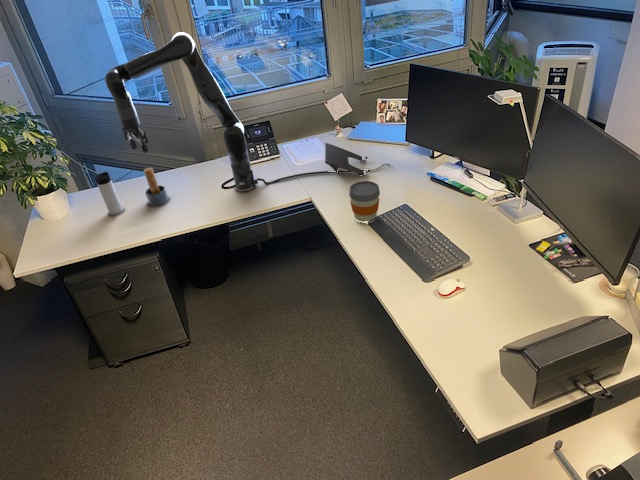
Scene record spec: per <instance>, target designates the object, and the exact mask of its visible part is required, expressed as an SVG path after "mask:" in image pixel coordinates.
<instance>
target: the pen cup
mask: <svg viewBox="0 0 640 480" xmlns="http://www.w3.org/2000/svg"><path fill="white" fill-rule="evenodd" d="M158 187H159V190H160V193H157V194H152V193H151V190H150V187H148V188H146V190H145V193H144V194H145V196H146V198H147V202H148V204H149V205H150V206H152V207H159V206H161V205H164V204H166V203H167V202H168V201H169V195H168V192H167V190H166V187H165V186H164V185H158Z"/></svg>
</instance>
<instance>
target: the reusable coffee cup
mask: <svg viewBox="0 0 640 480" xmlns="http://www.w3.org/2000/svg"><path fill="white" fill-rule="evenodd" d="M348 195H349V198H350V201H349V203H350V206H351V207H350V208H351V211H352V212H353V215H354V216H353V217H354V219H355V218H356V219H357V220H359V221H363V222H364V221H369V220H371V219H373V218H374V217H376V218H377V214H378V213H377V212H378V211H379V205H380V198H379V197H380V195H381V193H380V185H379V184H378V183H376V182H374V181H371V180H361V181H357V182H354V183H351V185H350V187H349V193H348ZM364 224H365V225H364ZM359 225H362V226H363V225H364V226H367V225H366V223H362V222H360V224H359Z"/></svg>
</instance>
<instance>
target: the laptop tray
mask: <svg viewBox="0 0 640 480" xmlns="http://www.w3.org/2000/svg"><path fill="white" fill-rule="evenodd" d="M362 157H363V156H362V155H359V154H357V153H355V152H352V151H350V150H347V149H344V148H342V147H339V146H336V145H334V144H331V143H330V142H329V143H328V142H324V163H325V164H326V165H328V166H329V167H330V168H331V169H332V170H333V171H336V173H335V174H337V170H338V171H339V169H341V170H348V171H351V172H350V173H354V174H358V176H359V175H363V176H365V175H364V172H363V170H361V169H362V168H358V167H357V166H354V165H353V164H350V163H349V158H352V159H354V160H358V161H360V162H367V160H368V156H365V158H364V161H362ZM365 159H367V160H365ZM338 168H339V169H338ZM367 172H369V173H370V172H371V170H368V171H367ZM339 174H340V173H338V174H337V175H339Z"/></svg>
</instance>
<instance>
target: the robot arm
mask: <svg viewBox="0 0 640 480" xmlns="http://www.w3.org/2000/svg"><path fill="white" fill-rule="evenodd" d="M181 60H182V62H183V63H184V65H185V66H186V67H187V69H188V72H189V74H190V76H191V79H192V82H193V84H194V86H195V89H196V91H197V93H198V94H199V96H200V97H201V99H202V101H203V102H204V104H205V106H207V107H208V108H209V109H210V110H211V111H212V112H213V113H214V114H215V115H216V117H217V118H218V120H219V122H220V123H221V126H222V128H223V141H224V145H225V149H226V153H227V155H228V158H229V163H230V167H231V172H232V177H233V181H234V184H235V190H236V191H237V192H243V193H244V192H249V191H252V190H253V189H256V185H258V184H259V181H261V182H263V184H265V185H271V184H275V183H277V182H280V181H283V180H287V179H293V178H296V177H301V176H302V177H303V176H309V175H319V174H337V173H336V172H328V171H329V170H323V171H311V172H304V173H297V174H292V175H288V176H284V177H280V178H277V179H275V180H272V181H269V182H268V181H266V180H265V179H264V178H260V177H258V174H254V172H253V171H254V170H253V169H252V166H251V160H250V155H249V150H248V148H247V144H246V138H245V128H244V125H243V124H242V122H241V121H240V119H239V118H238V117H237V116H236V114H235V112H234V111H233V110H232V108H231V105H230V104H229V102H228V100H227V98H226V96H225V94H224V92H223V90H222V88H221V87H220V85H219V83H218V81H217V80H216V78H215V77H214V75H213V74H212V72H211V70H210V69H209V67H208V66H207V64H206V63H205V61H204V60H203V59H202V57H201V54H200V53H199V49H198V47H197V45H196V43H195V41H194V39H193V38H192V36H191V35H190V34H188V33H186V32H183V31H181V32H177V33H175V34H174V35H173V36H172V38H171V40H170V41H169V42H168V43H166V44H165V45H163V46H162V47H160V48H157V49H156V50H152V51H149V52H148V53H144V54H141V55H139V56H137V57H135V58H132V59H131V60H129V61H127V62H126V63H125V62H124V63H122V64H119V65H116V66H114V67H112V68H110V69H109V70H108V71H107V73H106V74H105V77H104V81H105V85H106V87H107V89H108V91H109V93H110V95H111V97H112V98H113V101H114V105H115V107H116V111H117V115H118V118H119V120H120V123H121V126H122V127H121V129H122V132H123V136H124V139H125V140H126V141H128V142H129V144H130V147H131V149H132V150H136V149H137V148H138V147H137V144H136V142H137V143H139V144H140V147H141V150H142V153H144V154H146V153H148V152H149V149H148V146H147V144H149V140H148V137H147V134H146V132H145V130H144V129H142V130H141V129H140V126H141V121H140V118H139V115H138V112H137V109H136V107H135V105H134V102H133V99H132V96H131V94H130V92H129V91H127V89H126V85H125V83H126V82H128V81H130V80H133V79H134V80H135V79H138V78H141V77H144V76H145V75H147V74H150V73H151V72H153V71H155V70H156V69H159V68H160V67H163V66H166V65H168V64H171V63H174V62H177V61H181ZM363 171H364V170H363ZM338 173H339V174H341V173H352V172H351V171H343V170H338Z"/></svg>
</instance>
